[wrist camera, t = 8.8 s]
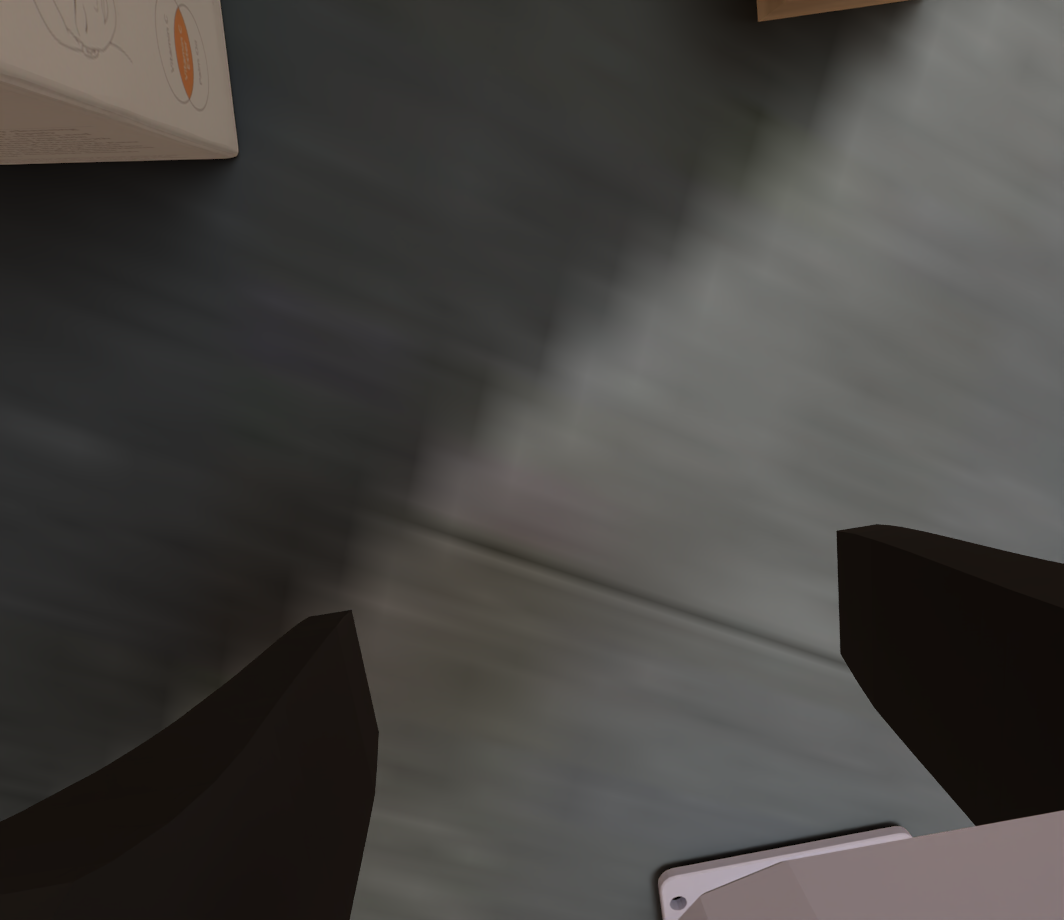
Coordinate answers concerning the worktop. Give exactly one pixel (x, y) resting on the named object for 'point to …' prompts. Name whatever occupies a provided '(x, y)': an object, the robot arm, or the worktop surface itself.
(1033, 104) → the worktop surface
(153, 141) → the small box
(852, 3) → the light oak brick
